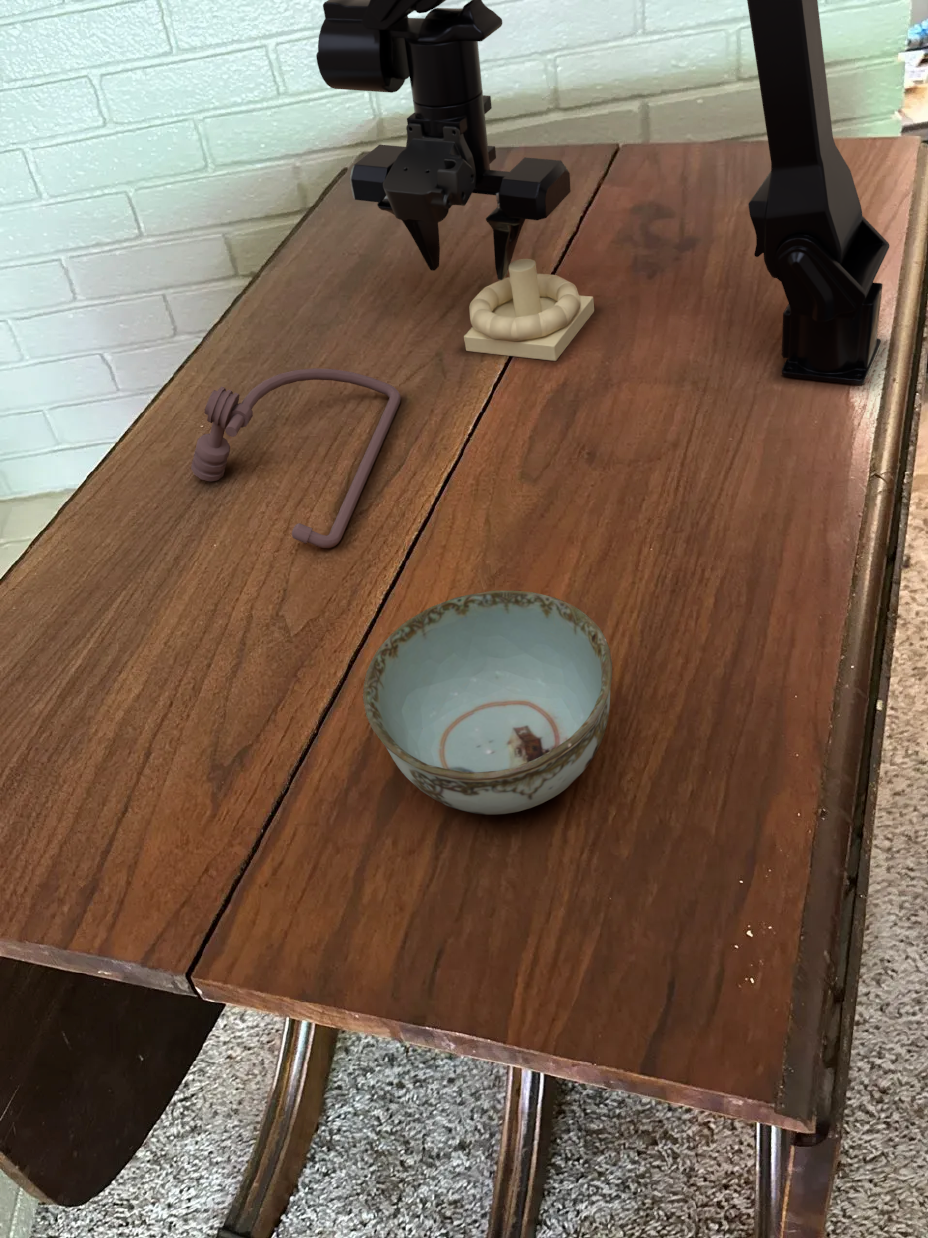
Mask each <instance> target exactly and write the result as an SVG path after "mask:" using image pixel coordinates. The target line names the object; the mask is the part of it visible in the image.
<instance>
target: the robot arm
mask: <svg viewBox="0 0 928 1238" xmlns="http://www.w3.org/2000/svg"><path fill="white" fill-rule="evenodd" d="M446 1H447V0H326V1H324V2H323V4H322V9H323V14H324V20H323V22H322V24H321V27H320V30H319V34H318V43H317V52H316V54H315V57H316V64H317V67H318V70H319V73H320V76H321V79H322V80H323V81H324V83H325V84H326V85H327V86H328V87H329V88H331V89H334V90H344V91H345V90H346V91H362V92H376V93H377V92H378V93H396V92H398V91H399V90H400V89H401V88H402V87H403V85H404V84H405V82H406V80H407V79H409V81H410V83H409V84H410V89H411V96H412V97H411V98H412V104H413V109H414V110H413V111H414V112H413V113H411V114H410V115H409V116H408V117H407V118H406V122H407V124H406V127H405V129H406V135H407V137H406V144H405V146H402V145H401V146H400V145H390V144H378V145H377V146H376V147H374V148H373V149H372V150H371V151H369V152H368V153H367V154H366V155H365V156H363V157H362V158H361V159H359V160H358V161H357V162H356V163H354V165H353V166H352V168H351V170H350V176H349V183H350V188H351V195H352V197H353V199H354V201H362V202H364V201H365V202H371V203H376V206H377V208H378V209H380V211H385V212H388V213H390V214H392V215H394V217H395V218H396V219H397V220H401V222H402V223H403V224H404V226H405V227H406V230H408V232H409V234H410V236H411V238H412V239H413V241H414V242H415V245H416V246H417V249H418V250H419V253H420V254H421V256H422V258H423V260H424V261H425V263H426V265H427V267H428V269H429V270H430V271H432V272H435V271H437V269H439V267H440V257H441V256H440V254H441V246H440V245H441V244H440V243H441V242H440V231H439V223H440V222H442V221H443V220H445V219H446V217H447V216H448V214H449V211H450V209H451V207H453V206H459V207H460V206H462V207H465V206H466V205H467V203H468V202H469V200H470V198H471V196H472V194H477V195H478V194H479V195H488V196H495V199H496V200H495V201H496V206H497V207H495V209H493V210H492V212H490V214H489V215H488V216H487V217H486V218H485V221H486V222H487V223H488V225H489V226H490V227H491V228H492V235H493V253H494V255H493V256H494V268H495V274H496V277H497V280H498V281H500V280H503V279H504V278H507V275H508V273H509V265H510V264H511V263H512V259H513V257H514V253H515V250H516V247H517V243H518V240H519V238H520V234H521V231H522V228H523V226H524V224H525V222H526V220H530V221H540V220H545V219H547V218H548V217H549V216H550V215H551V214H552V213H553V211H555V209H556V208H557V207H559V205H560V203H562V202H563V201H564V200H565V198H566V197H567V196H569V194H570V193H571V173H570V171H569V170H568V168H567V167H566V165H565V163H564V162H563V161H562V160H560V159H549V158H537V157H527V156H526V157H525V156H524V157H523V158H522V159H521V160H520V161H519V162H518V163H516V165H515V166H514V167H513V168H512V169H511V170H509V171H506V170H496V169H491V165H490V164H492V163H493V162H494V161H495V160H496V159H497V153H496V152H497V151H496V145H488V143H489V142H488V134H487V133H488V132H487V122H486V114H487V113H488V112H489V111H490V110H492V109H493V107H492V97H491V95H484V91H483V81H482V70H481V62H480V61H481V60H480V51H479V42H483V41H484V40H485V39H487V38H488V37H489V36H491V35H492V34H494V33H495V32H496V31H497V30H499V29H500V28H501V27H502V26H503V19H502V17H500V16H499V15H498V14H497V13H496V12H495V11H494V10H492V9H490V8H489V7H488V6H487V5H486V4H485V3H484V2H483V0H470V1H468V2H467V3H466V4H463V5H464V6H463V7H462V8H453V7H451V8H450V7H439V6H440V5H441V4H443V3H444V2H446ZM746 3H747V8H748V15H749V22H750V29H751V36H752V43H753V48H754V55H755V63H756V71H757V77H758V82H759V91H760V96H761V103H762V111H763V116H764V124H765V131H766V136H767V137H766V138H767V143H768V150H769V157H770V166H771V167H770V172H769V173H768V174H767V176H766V177H765V178H764V180H763V181H762V183H761V185H760V186H759V187H758V189H757V190H756V192H755V193H754V195H753V196H752V197H751V199H750V200H749V202H748V203H747V205H748V212H749V217H750V220H751V223H752V226H753V228H754V232H755V239H756V240H755V242H756V245H755V249H754V254H753V255H754V257H755V258H759V257H760V256H762V255H763V262H764V265H765V267H766V271H767V272H768V273H769V275H770V277H772V279H776V280H778V281H779V282H781V283H780V284H781V286H782V288H783V291H784V294H785V297H786V300H787V302H788V304H787V306H786V308H785V309H784V310H783V312H782V329H781V330H782V331H781V353H780V354H781V357H782V358H783V359H786V360H785V361H784V364H783V366H782V367H781V375H782V377H786V378H792V379H793V378H795V379H803V380H813V381H821V382H829V383H840V384H847V385H848V384H849V385H863V384H865V382H866V380H867V378H868V376H869V374H870V372H871V369H872V367H873V364H874V362H875V360H876V357H877V355H878V353H879V350H880V348H881V343H882V340H881V338H878V332H879V324H880V323H879V322H880V313H881V302H882V301H881V300H882V294H883V283H880V282H874V281H875V279H876V276H877V274H878V273H879V270H880V268H881V266H882V264H883V262H884V260H885V257H886V255H887V253H888V251H889V249H890V242H889V241H887V240H886V238H884V236H882V234H881V233H880V232H879V231H878V230H877V229H876V228H875V227H874V226H873V225H872V224H871V222H869V221H868V220H867V219H866V218H865V216H864V215H863V209H862V205H861V201H860V198H859V194H858V192H857V188H856V183H855V181H854V178H853V174H852V172H851V169H850V168H849V166H848V164H847V162H846V160H845V159H844V157H843V155H842V153H841V152H840V150H839V148H838V146H837V145H836V141H835V139H834V135H833V126H832V125H833V124H832V117H831V108H830V100H829V99H830V98H829V91H828V81H827V73H826V64H825V55H824V46H823V37H822V29H821V22H820V21H821V20H820V11H819V3H818V0H746ZM413 12H416V13H418V14H424V13H427V14H426V16H425V17H422V18H421V17H409V15H410V14H412V13H413Z"/></svg>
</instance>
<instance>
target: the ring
mask: <svg viewBox="0 0 928 1238" xmlns="http://www.w3.org/2000/svg"><path fill="white" fill-rule="evenodd" d="M537 278H538V286H539V294H540V296H541V297H550V298H552V299H554V300H556V301H557V302H556V304H555V305H554V306H553V307H551V308H549V309H547V310H545V311H542V312H540V313H538V314H534V315H528V316H523V317H517V318H515V317H505V316H497V315H496V314H494V313H492V311H493V310H494V309H495V308H496V307H497V306H499V305H501V304H503V303H505V302H507V301H510V300H512V299H513V295H512V288H511V281H510V276H508V277H507V276H506V277H505V278H504V279H503V280H498V281H496V282H493V283H491V284H489V285H487V286H485V287H483V288H482V289H481V291H480V292H479V293H477V295H476V296H475V297H474V298H473V299H472V300H471V301H470V303H469V307H468V309H469V319H470V320H469V321H470V324H471V326H472V327H474V328H475V329H476V330H478V331H479V332H481V333H483V334H484V335H486V336H488V337H489V338H492V339H500V340H509V341H521V340H527V339H533V338H539V337H544V336H546V335H548V334H550V333H552V332H554V331H556V330H559V329H561V328H563V327H565V326H566V325H568V324H569V322H570V321H571V320H572V319H573V317H574V316H575V315H576V314H577V312H578V311H579V309H580V306H581V301H580V297H579V296H580V294H579V290H578V288H577V286H576V285H575V284H574V283H573V282H571V281H569V280H567V279H565V278H563V277H561V276H559V275H556V274H549V273H548V274H547V273H537Z"/></svg>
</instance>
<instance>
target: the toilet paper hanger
mask: <svg viewBox="0 0 928 1238" xmlns="http://www.w3.org/2000/svg"><path fill="white" fill-rule="evenodd" d="M305 381H333V382H334V381H335V382H341V383H347V384H351V385H354V386H355V385H356V386H358V387H363V388H365V389H370V390H371V391H375V392H377V393H380V394H382V395H385V396H386V397H388V398H389V399H388V400H387V403H386V406H385V409H384V411H383V412H382V415H381V417H380V419H379V422H378V424H377V426H376V428H375V430H374V433H373V435H372V437H371V439H370V441H369V444H368V446H367V448H366V450H365V453H364V456H363V457H362V459H361V461H360V464H359V466H358V468H357V471H356V473H355V475H354V477H353V480H352V482H351V483H350V486H349V489H348V490H347V493H346V495H345V498H344V499H343V501H342V504H341V505H340V508H339V511H338V513H337V515H336V518H335V520H334V522H333V525H332V526H331V529H330V531H329V533H328V534H327V535H325V534H322V533H319V532H317V531H315V530H313V528H312V527H310V526H307V525H305V524H304V523H303V524H302V523H301V522H299V523H296V524H295V525H294V526H293V528H292V531H291V537H292V539H294V540H296V541H298V542H301V543H303V544H305V545H306V544H307V543H308V544H310V545H313V546H315V547H318V548H321V549H331V548H334V547H336V546H337V545H338V544H339V543H340V541H341V540H342V538H343V536H344V533H345V532H346V529H347V526H348V524H349V522H350V519H351V517H352V515H353V513H354V510H355V508H356V506H357V504H358V502H359V499H360V496H361V494H362V491H363V489H364V487H365V484H366V483H367V480H368V478H369V476H370V473H371V472H372V469H373V466H374V464H375V461H376V459H377V458H378V455H379V453H380V450H381V448H382V445H383V443H384V441H385V439H386V436H387V434H388V432H389V430H390V427H391V425H392V423H393V420H394V417H395V416H396V413H397V412H398V409H399V406H400V404H401V399H402V397H401V394H400V392H399V390H398V389H397V388H396V387H395V386H393V385H391V384H390V383H387V382H384V381H382V380H379V379H377V378H375V377H372V376H368V375H364V374H361V373H358V372H353V371H347V370H341V369H335V368H318V367H317V368H316V367H314V368H304V369H303V368H301V369H294V370H290V371H286V372H281V373H279V374H276V375H273V376H271V377H269V378H267V379H265V380H263V381H262V382H260V383H258V384H257V385H256V386H254V387H253V388H252V389H251V390H250V391H249V392H248V394H246V396H245V397H244V398H243V399H242V402H240V396H241V395H240V393H238V392H233V390H231V389H227V388H226V387H224V386H223V385H222V386H220V388H218V390H215V389H213V391H212V392H211V394H210V395H209V397H208V400H207V401H206V404H205V407H204V411H203V413H204V414H205V415H206V416H207V418H206V421H207V422H208V423H210V424H211V428H210V432H209V433H204V434H202V435H201V436H199V438H197V441H196V445H195V449H194V454H193V458H192V462H191V466H190V469H191V471H192V473H193V475H194V476H196V477H197V478H198V479H200V480H202V481H206V482H215V481H219V480H220V479H222V478H223V477H224V474H225V472H226V471H225V470H226V467H227V463H228V459H229V457H230V453H231V444H230V443H229V442H228V440H227V439H226V438H225V437H224V435H225V434H226V435H227V436H229V437H233V438H234V437H236V436H237V434H238V433H239V432H240V430H241V429H242V428H246V427H247V426H248V424H249V423H250V421H251V419H252V418H253V415H254V413H253V408H254V406H255V405H256V404H257V403H258V402H259V401H260V399H262V398H263V397H265V396H266V395H267V394H269V393H270V392H273V391H274V390H276V389H279V388H281V387H282V386H286V385H290V384H293V383H296V382H305Z"/></svg>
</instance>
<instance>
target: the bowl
mask: <svg viewBox="0 0 928 1238" xmlns="http://www.w3.org/2000/svg"><path fill="white" fill-rule="evenodd" d="M612 681H613V661H612V654H611V648H610V647H609V644H608V642H607V638H606V637H605V635H604V633H603V631H602V629H601V628H600V626H598V624H597V623H596V622H595V621H594V620H593V619H592V618H591V617H590V616H589V615H587V614H586V613H585V612H584V611H582V610H581V609H580V608H579V607H576V606H575V605H573V604H570V603H569V602H566V601H564V600H562V599H560V598H557V597H555V596H550V595H547V594H541V593H539V592H533V591H523V590H488V591H483V592H476V593H471V594H465V595H461V596H456V597H454V598H451V599H447V600H445V601H443V602H441V603H437V604H435V605H432V606H430V607H428V608H426V609H424V610H423V611H421V612H419V613H418V614H415V615H414V616H413V617H411V618H409V619H408V620H407V619H406V621H405V622H404V623H401V624H400V626H399V627H397V628H396V629H395V630H394V631H393V632H392V633H391V634H390V635H389V636H388V637H387V638H386V640H384V642H383V643H382V644H381V645H380V646H379V647H378V648H377V650H376V652H375V653H374V655H373V657H372V659H371V661H370V663H369V665H368V667H367V669H366V673H365V678H364V681H363V693H362V701H363V707H364V712H365V716H366V718H367V720H368V723H369V725H370V727H371V730H372V731H373V732H374V733H375V735H376V736H377V738H378V739H379V740H380V741H381V743H382V744H383V745H384V747H385V749H386V750H387V752H388V754H389V755H390V757H391V759H392V761H393V762H394V763H395V765H396V766H397V768H398V769H399V770H400V772H401V773H402V774H403V775H404V777H405V778H406V779H407V780H409V781H410V782H411V783H412V784H413V785H414V786H415V787H416V788H417V789H418V790H420V792H422V793H423V794H425V795H426V796H428V797H430V798H431V799H433V800H435V801H436V802H439V803H440V804H442V805H445V806H446V807H449V808H452V809H455V810H459V811H461V812H466V813H471V814H476V815H477V814H478V815H506V814H512V813H518V812H521V811H525V810H529V809H532V808H534V807H537V806H539V805H542V804H544V803H545V802H547V801H549V800H552V799H554V798H555V797H556V796H558V795H560V794H561V793H562V792H564V791H565V790H566V789H567V788H569V787H570V786H571V785H572V784H573V783H574V782H575V781H576V780H577V779H578V778H579V777H580V776H581V775H582V774H583V773H584V772H585V770H586V769H587V768H588V766H589V765H590V763H591V762H592V761H593V759H594V757H595V756H596V754H597V752H598V749H599V748H600V746H601V744H602V742H603V739H604V736H605V733H606V729H607V726H608V722H609V715H610V707H611V704H610V703H611V687H612Z"/></svg>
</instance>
